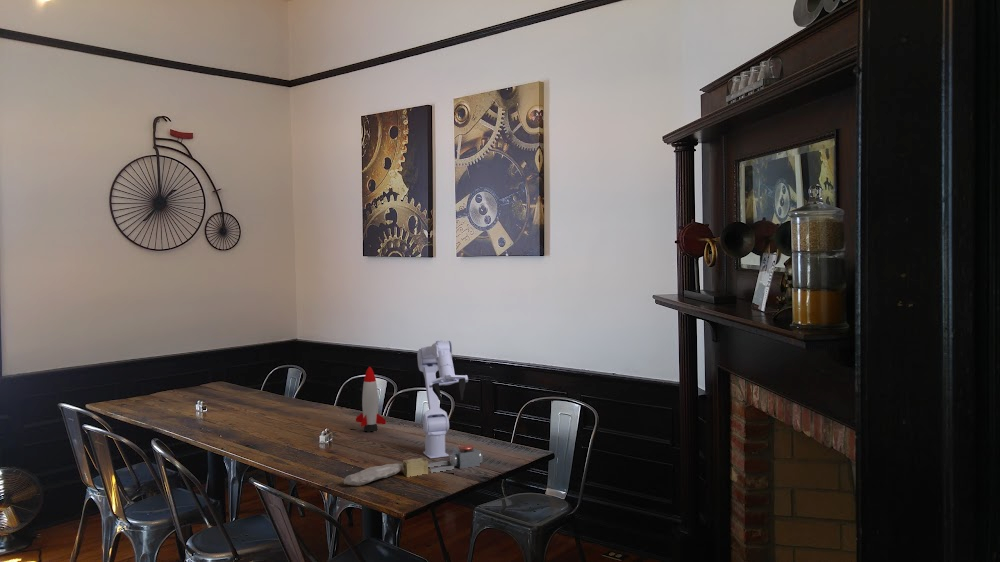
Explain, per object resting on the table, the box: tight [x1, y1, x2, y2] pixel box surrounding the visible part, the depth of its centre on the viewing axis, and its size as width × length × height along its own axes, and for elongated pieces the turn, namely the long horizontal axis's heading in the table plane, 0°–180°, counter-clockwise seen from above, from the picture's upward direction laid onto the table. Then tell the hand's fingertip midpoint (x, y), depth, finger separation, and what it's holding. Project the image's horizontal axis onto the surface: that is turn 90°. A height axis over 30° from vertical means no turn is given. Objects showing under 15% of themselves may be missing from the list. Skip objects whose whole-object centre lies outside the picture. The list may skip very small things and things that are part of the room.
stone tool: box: [343, 463, 403, 487], centre depth 251 cm, size 12×5×25 cm
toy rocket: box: [355, 366, 387, 433], centre depth 325 cm, size 11×11×30 cm
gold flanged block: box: [402, 457, 429, 478], centre depth 257 cm, size 5×8×5 cm, turn 114°
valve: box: [428, 443, 484, 474], centre depth 265 cm, size 8×22×7 cm, turn 114°
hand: (451, 401), depth 253 cm, fingers open, 7 cm apart
